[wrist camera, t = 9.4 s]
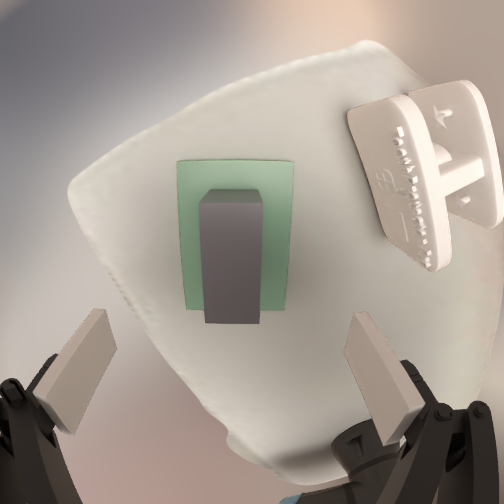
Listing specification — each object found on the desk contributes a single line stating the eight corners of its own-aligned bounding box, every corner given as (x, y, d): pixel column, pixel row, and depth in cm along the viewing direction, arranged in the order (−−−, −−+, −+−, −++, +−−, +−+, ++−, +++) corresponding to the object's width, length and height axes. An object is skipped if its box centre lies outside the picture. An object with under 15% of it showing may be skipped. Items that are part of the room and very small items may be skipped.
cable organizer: (442, 207, 28) (506, 236, 17) (378, 239, 29) (435, 284, 18) (409, 91, 23) (478, 77, 12) (335, 113, 24) (390, 93, 14)
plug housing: (255, 285, 29) (259, 323, 22) (213, 284, 29) (205, 323, 22) (258, 189, 25) (263, 202, 19) (210, 189, 25) (198, 202, 19)
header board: (282, 303, 32) (289, 331, 27) (188, 302, 31) (179, 330, 26) (290, 161, 26) (302, 163, 21) (180, 161, 26) (165, 163, 21)
